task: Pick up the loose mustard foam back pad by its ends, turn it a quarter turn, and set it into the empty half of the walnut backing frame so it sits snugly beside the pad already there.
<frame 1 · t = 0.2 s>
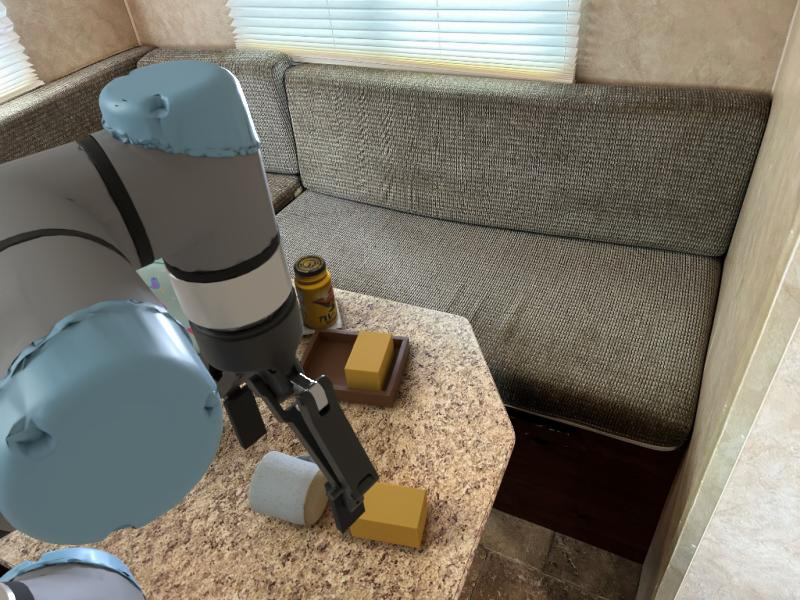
hand: (299, 477, 55), 21 cm above the table, tool pointing down, fingers open, 13 cm apart
pad seated: (372, 370, 94), point 1 cm above the table, touching frame
ceramic mug: (300, 496, 78), on the table
condiment: (316, 320, 105), on the table
pad loose: (390, 522, 74), on the table
frame: (352, 371, 95), on the table
lunch box: (204, 337, 104), on the table
coffee jar: (148, 448, 86), on the table
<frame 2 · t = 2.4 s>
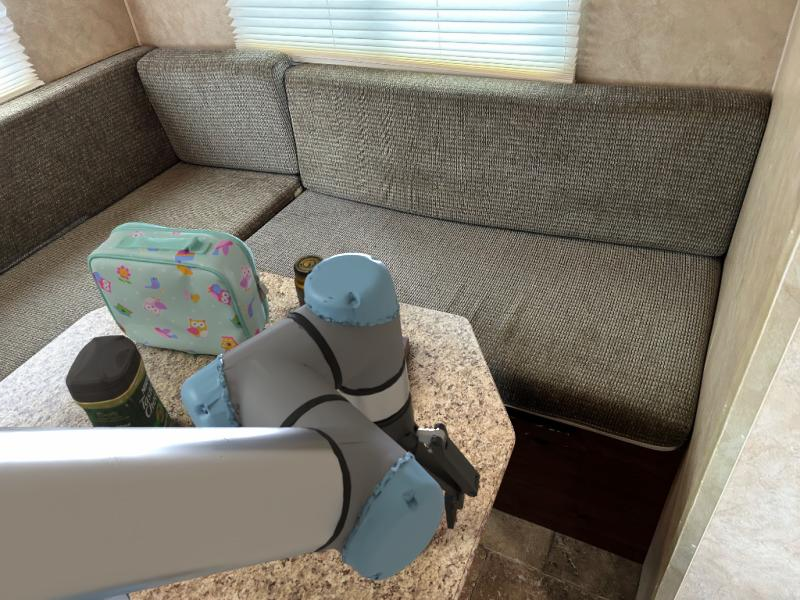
hand: (396, 510, 73), 2 cm above the table, tool pointing down, fingers open, 13 cm apart
ceramic mug: (300, 496, 78), on the table, touching gripper
everything else where it was.
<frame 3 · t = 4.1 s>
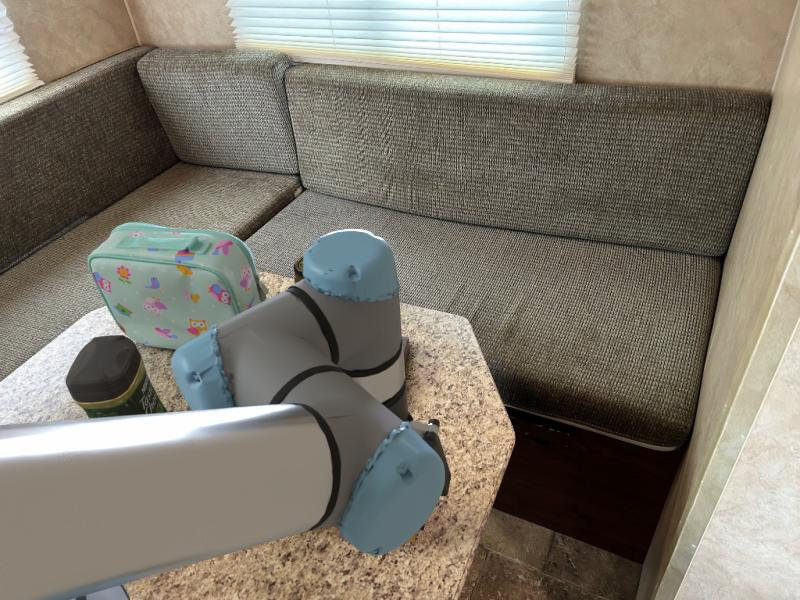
hand: (385, 512, 72), 3 cm above the table, tool pointing down, fingers closed on pad loose, 8 cm apart
ceramic mug: (299, 495, 79), on the table
pad loose: (384, 516, 72), point 3 cm above the table, touching gripper
everything else where it was.
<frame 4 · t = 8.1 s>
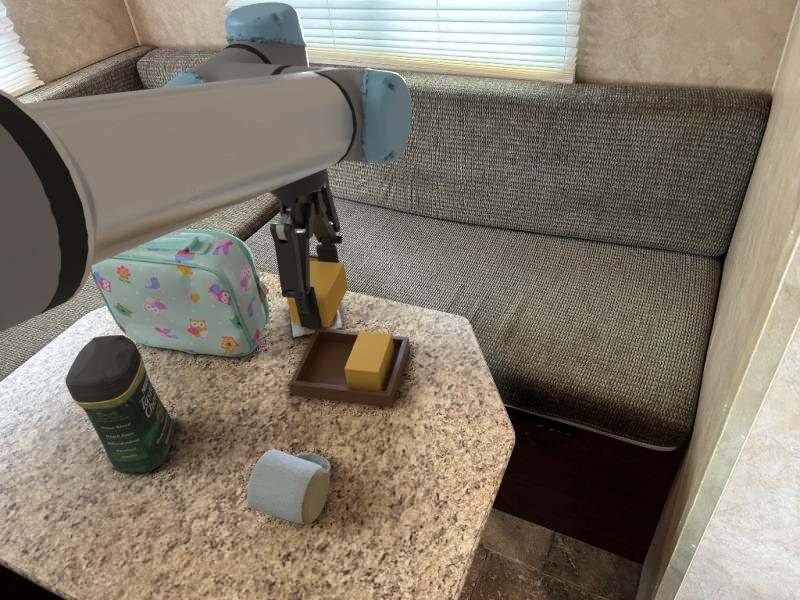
hand: (322, 304, 84), 15 cm above the table, tool pointing down, fingers closed on pad loose, 8 cm apart
pad loose: (321, 305, 84), point 15 cm above the table, touching gripper
everything else where it was.
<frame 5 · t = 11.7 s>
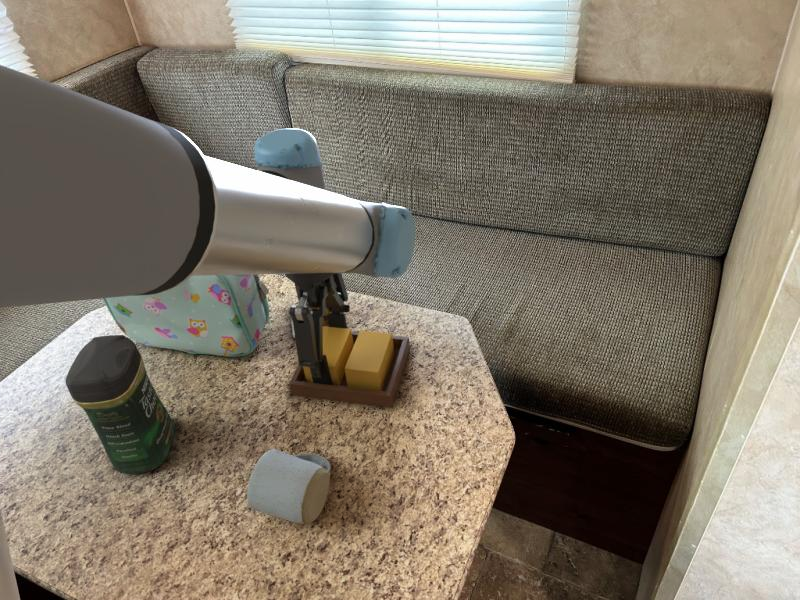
hand: (332, 364, 95), 1 cm above the table, tool pointing down, fingers closed on pad loose, 8 cm apart
pad loose: (331, 365, 95), point 1 cm above the table, touching gripper
everything else where it was.
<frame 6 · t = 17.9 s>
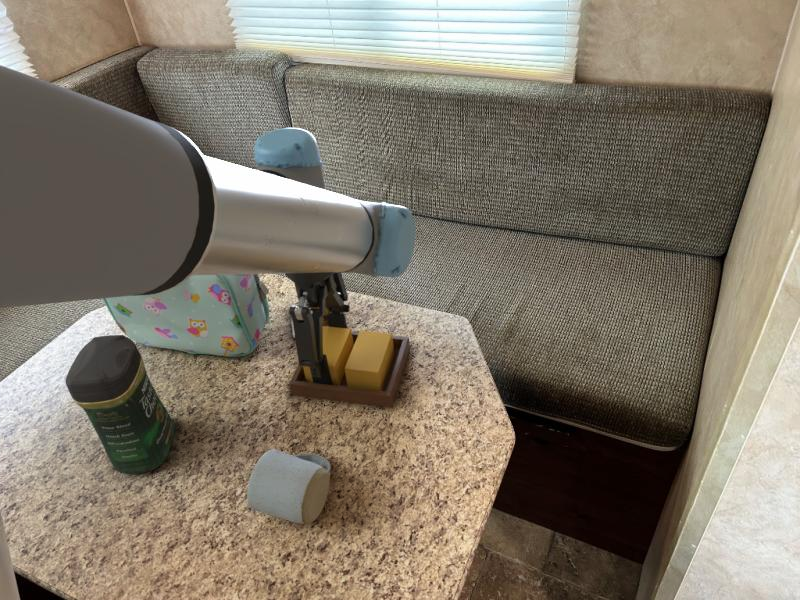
hand: (332, 364, 95), 1 cm above the table, tool pointing down, fingers closed on pad loose, 8 cm apart
pad loose: (331, 365, 95), point 1 cm above the table, touching gripper
everything else where it was.
when the fingers open (2 cm above the table, at t = 23.4 s): pad loose drops 2 cm, resting on frame.
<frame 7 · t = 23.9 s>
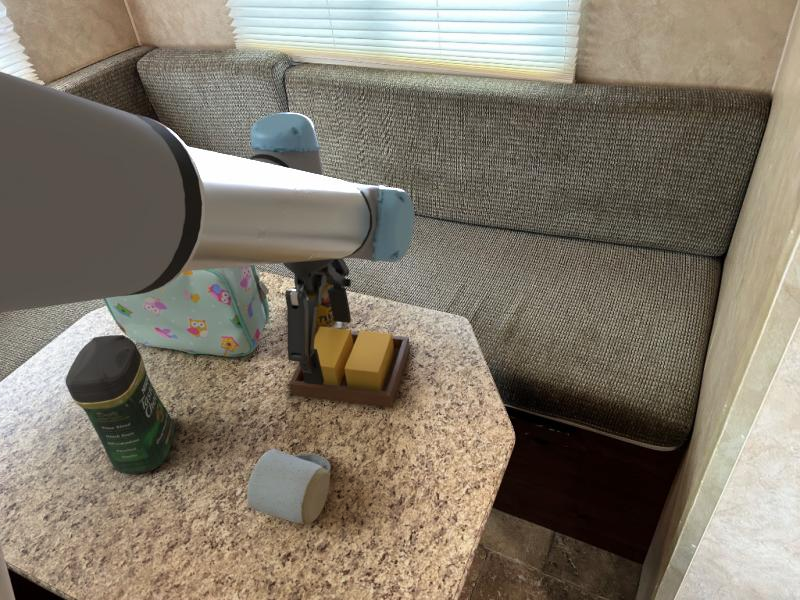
hand: (329, 349, 93), 4 cm above the table, tool pointing down, fingers open, 13 cm apart
pad loose: (331, 366, 95), point 1 cm above the table, touching frame
everything else where it was.
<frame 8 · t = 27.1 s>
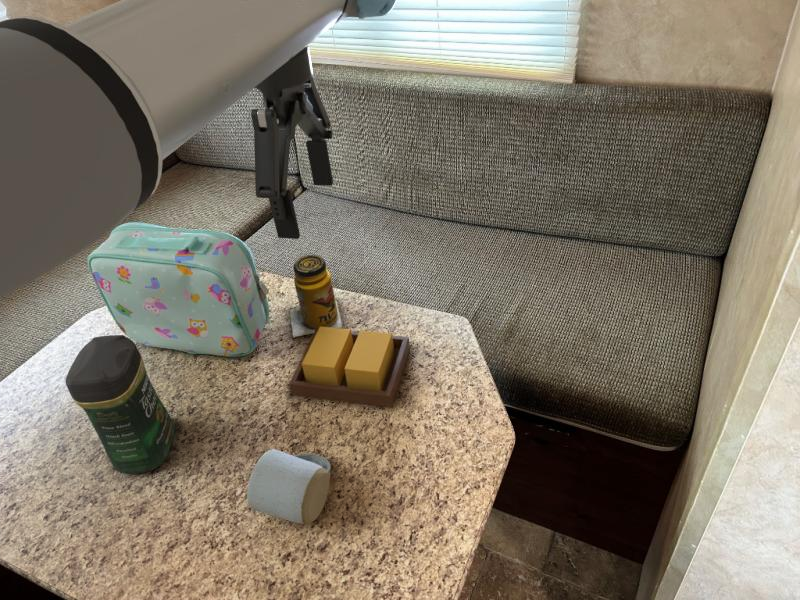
hand: (307, 209, 82), 27 cm above the table, tool pointing down, fingers open, 13 cm apart
nothing on the table moved.
at the end: pad loose 0.2 cm from the target spot in the frame, point 0.6 cm above the frame's base; pad loose tilted 0°; pad seated 0.1 cm from the target spot in the frame, point 0.6 cm above the frame's base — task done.
